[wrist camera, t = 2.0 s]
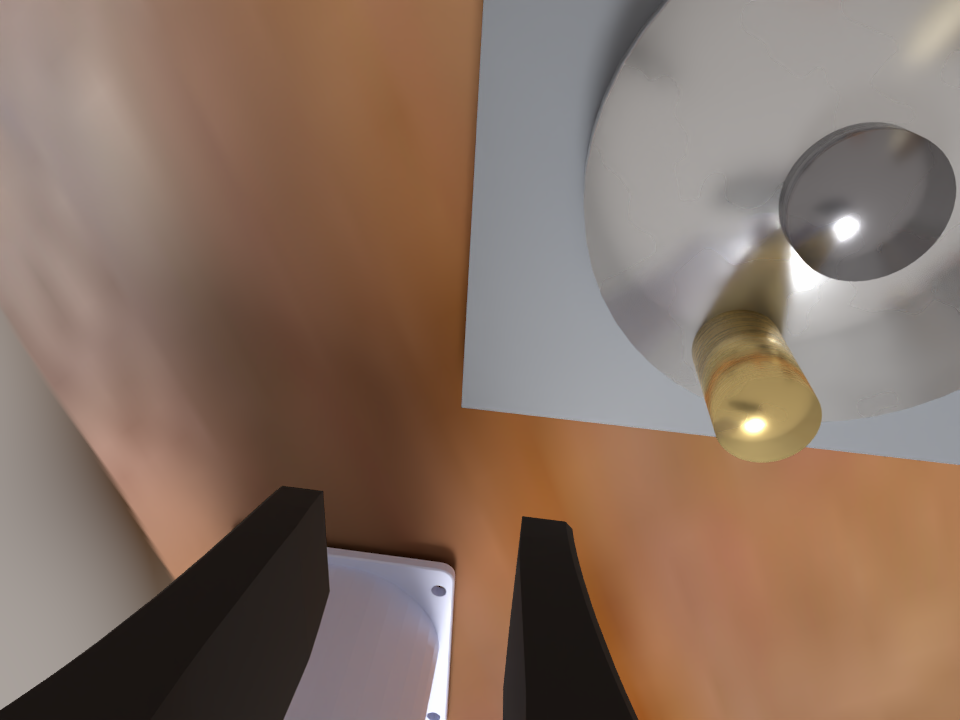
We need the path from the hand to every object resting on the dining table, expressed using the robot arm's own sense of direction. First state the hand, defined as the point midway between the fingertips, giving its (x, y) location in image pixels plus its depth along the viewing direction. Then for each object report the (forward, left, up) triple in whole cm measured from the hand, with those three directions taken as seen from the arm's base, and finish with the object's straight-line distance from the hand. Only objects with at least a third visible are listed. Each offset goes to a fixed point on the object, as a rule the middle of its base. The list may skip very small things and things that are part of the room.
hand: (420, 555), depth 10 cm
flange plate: (+4, -8, -9) cm, 13 cm away
